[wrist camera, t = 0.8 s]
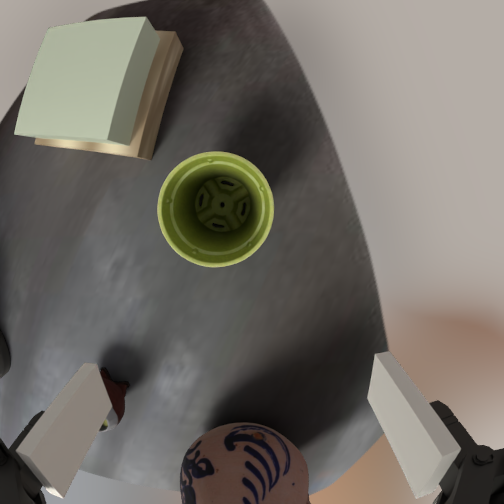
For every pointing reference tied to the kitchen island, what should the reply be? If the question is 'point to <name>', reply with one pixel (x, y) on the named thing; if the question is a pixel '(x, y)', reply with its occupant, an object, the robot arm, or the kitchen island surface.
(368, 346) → the kitchen island surface
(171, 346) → the kitchen island surface
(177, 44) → the lower block
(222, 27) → the kitchen island surface
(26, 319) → the kitchen island surface
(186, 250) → the plant pot
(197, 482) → the ceramic pitcher
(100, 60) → the upper block
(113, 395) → the mate gourd
